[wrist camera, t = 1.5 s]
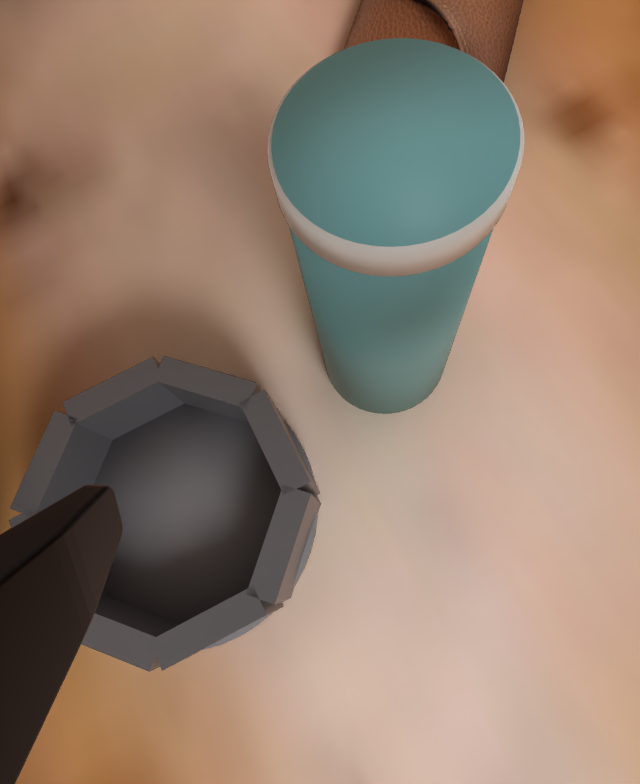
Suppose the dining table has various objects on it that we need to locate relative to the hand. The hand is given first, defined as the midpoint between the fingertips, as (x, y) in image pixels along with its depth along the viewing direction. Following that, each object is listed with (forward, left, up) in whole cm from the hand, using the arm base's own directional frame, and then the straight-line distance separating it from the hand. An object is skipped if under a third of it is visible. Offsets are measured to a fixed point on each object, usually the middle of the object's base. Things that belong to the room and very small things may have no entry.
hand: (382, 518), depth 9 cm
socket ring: (+5, +6, -13) cm, 15 cm away
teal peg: (+7, -4, -13) cm, 15 cm away
